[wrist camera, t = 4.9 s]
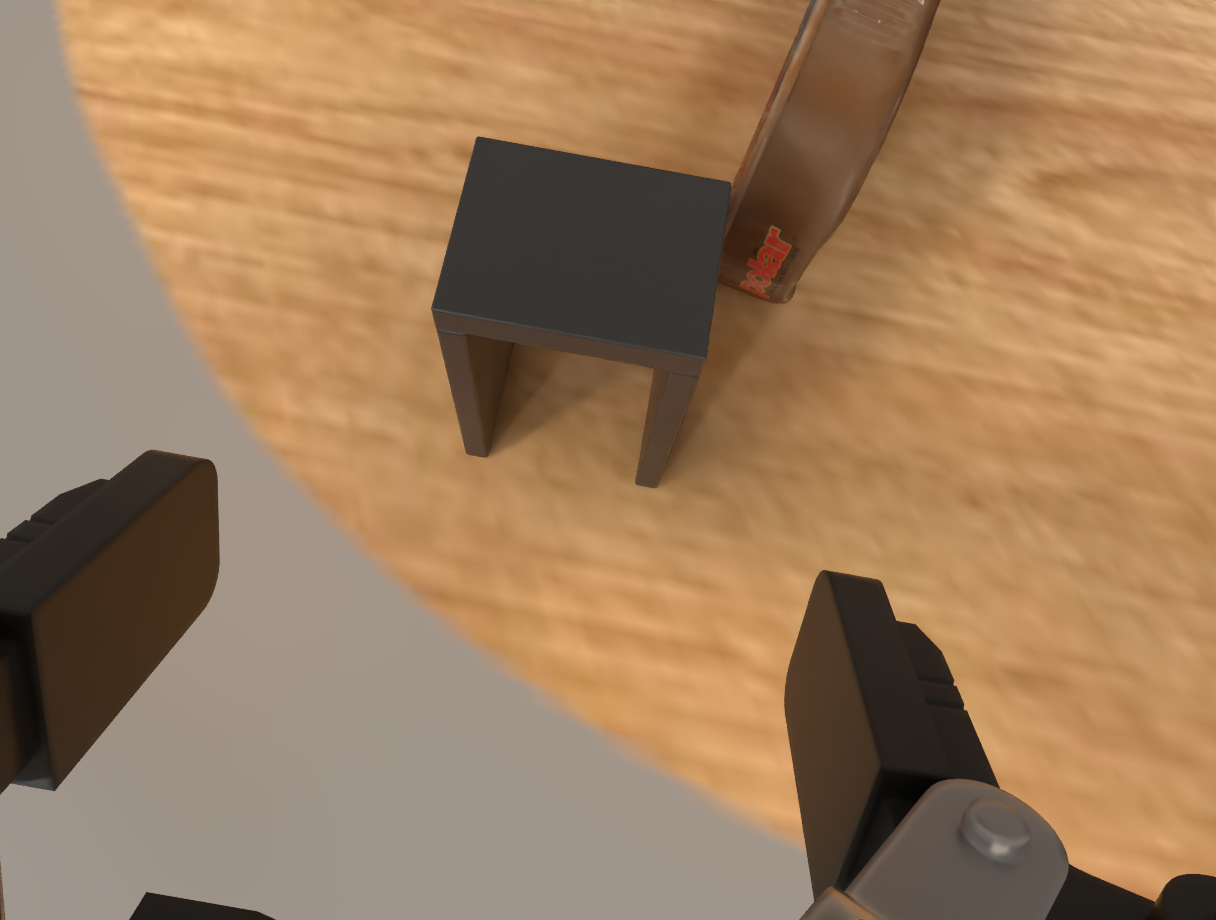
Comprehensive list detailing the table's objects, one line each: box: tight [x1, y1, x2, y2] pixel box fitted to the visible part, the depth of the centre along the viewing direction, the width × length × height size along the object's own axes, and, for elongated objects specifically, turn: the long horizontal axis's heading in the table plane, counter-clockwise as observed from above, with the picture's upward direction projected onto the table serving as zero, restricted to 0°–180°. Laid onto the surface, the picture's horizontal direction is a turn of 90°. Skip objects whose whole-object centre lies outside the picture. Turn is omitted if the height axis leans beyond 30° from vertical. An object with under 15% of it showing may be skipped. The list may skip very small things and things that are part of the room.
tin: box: [718, 0, 940, 304], centre depth 25 cm, size 15×3×8 cm, turn 158°
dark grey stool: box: [431, 137, 732, 488], centre depth 21 cm, size 5×4×8 cm
